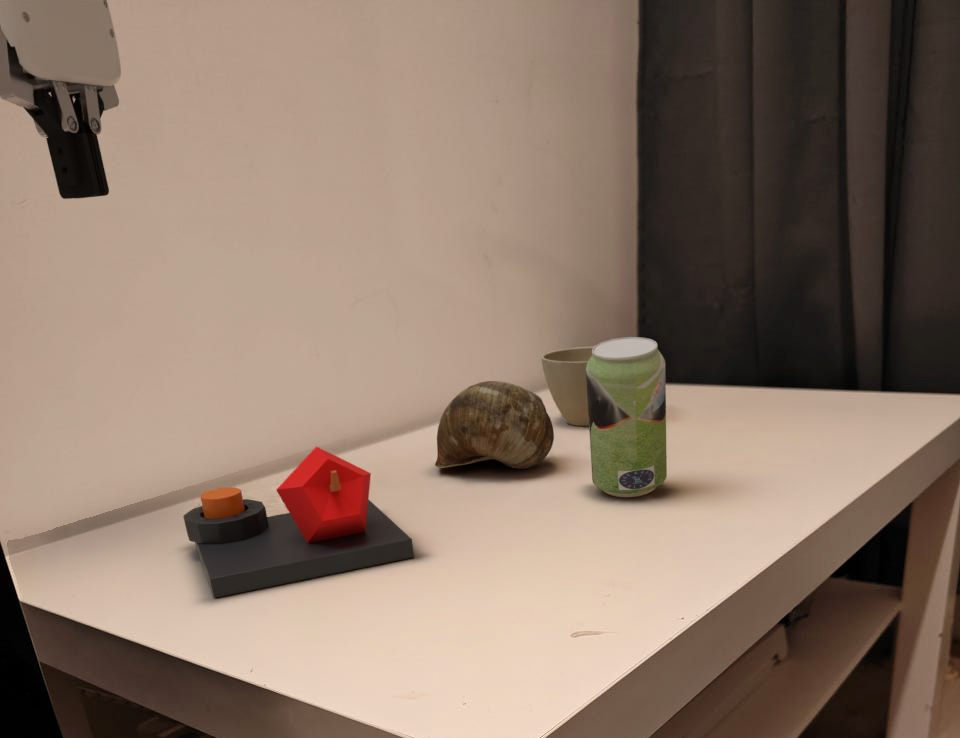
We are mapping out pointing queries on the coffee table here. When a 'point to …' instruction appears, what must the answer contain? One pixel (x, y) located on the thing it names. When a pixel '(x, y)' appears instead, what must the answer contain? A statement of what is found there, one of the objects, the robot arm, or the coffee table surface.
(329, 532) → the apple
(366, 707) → the coffee table surface
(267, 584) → the dark grey flat slab
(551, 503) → the coffee table surface
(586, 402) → the flower pot
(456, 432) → the seashell
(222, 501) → the button
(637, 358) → the beverage can
